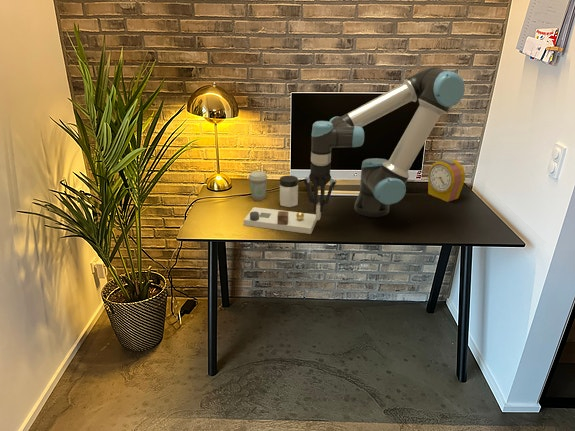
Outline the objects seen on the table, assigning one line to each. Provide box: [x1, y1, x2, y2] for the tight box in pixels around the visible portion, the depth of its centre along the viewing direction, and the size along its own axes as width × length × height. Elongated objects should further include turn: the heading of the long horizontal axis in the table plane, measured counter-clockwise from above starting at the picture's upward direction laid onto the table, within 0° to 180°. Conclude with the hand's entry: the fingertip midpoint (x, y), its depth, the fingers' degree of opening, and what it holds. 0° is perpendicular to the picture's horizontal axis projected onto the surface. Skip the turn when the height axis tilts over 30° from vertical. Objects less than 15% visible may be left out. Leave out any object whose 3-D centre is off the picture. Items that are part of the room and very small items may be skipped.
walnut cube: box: [277, 210, 288, 225], centre depth 182 cm, size 4×4×4 cm
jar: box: [279, 175, 299, 208], centre depth 204 cm, size 9×8×12 cm
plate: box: [243, 206, 318, 235], centre depth 188 cm, size 28×13×2 cm, turn 75°
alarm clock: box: [427, 158, 466, 203], centre depth 212 cm, size 15×8×18 cm, turn 33°
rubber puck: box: [249, 212, 259, 221], centre depth 185 cm, size 4×4×2 cm
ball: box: [296, 211, 304, 220], centre depth 185 cm, size 3×3×3 cm
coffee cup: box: [248, 170, 268, 201], centre depth 209 cm, size 8×9×12 cm
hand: (318, 218), depth 183 cm, fingers closed
